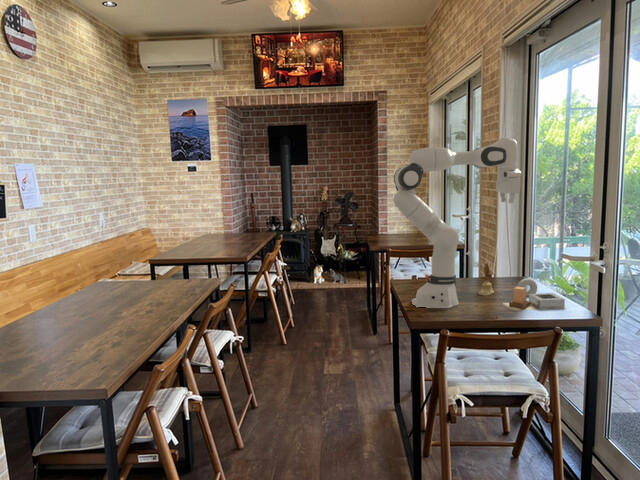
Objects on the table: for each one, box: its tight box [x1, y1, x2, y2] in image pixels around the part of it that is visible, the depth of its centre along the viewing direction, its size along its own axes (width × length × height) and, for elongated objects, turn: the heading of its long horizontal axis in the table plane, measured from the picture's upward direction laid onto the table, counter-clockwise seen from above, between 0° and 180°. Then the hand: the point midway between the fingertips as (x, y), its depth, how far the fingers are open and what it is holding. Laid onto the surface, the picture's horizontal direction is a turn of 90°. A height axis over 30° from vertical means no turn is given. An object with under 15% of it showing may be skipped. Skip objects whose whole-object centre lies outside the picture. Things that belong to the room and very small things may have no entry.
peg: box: [513, 286, 527, 304], centre depth 211 cm, size 4×4×8 cm
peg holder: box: [508, 299, 530, 309], centre depth 212 cm, size 7×7×2 cm
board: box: [501, 302, 563, 312], centre depth 212 cm, size 24×12×2 cm, turn 89°
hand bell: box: [478, 263, 495, 297], centre depth 240 cm, size 8×8×16 cm
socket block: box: [528, 292, 566, 310], centre depth 211 cm, size 11×11×4 cm
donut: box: [516, 277, 538, 297], centre depth 229 cm, size 10×3×10 cm, turn 93°
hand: (507, 202), depth 220 cm, fingers open, 8 cm apart
